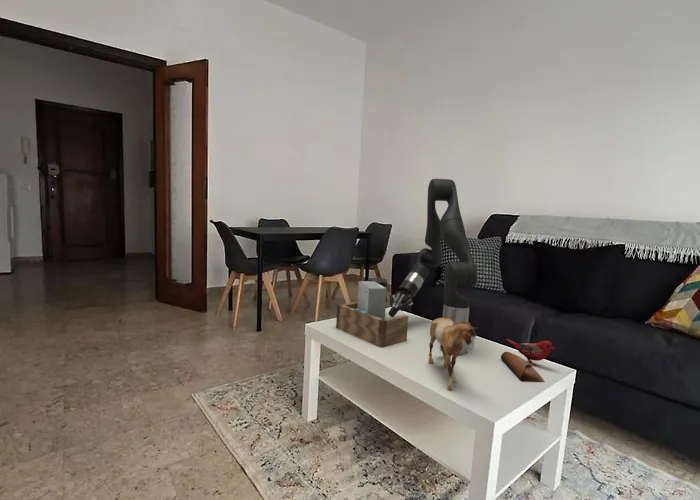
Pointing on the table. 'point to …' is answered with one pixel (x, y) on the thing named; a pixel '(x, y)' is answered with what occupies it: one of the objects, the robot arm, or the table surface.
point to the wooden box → (371, 325)
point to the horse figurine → (451, 341)
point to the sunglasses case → (521, 368)
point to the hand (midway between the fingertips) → (390, 315)
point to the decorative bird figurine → (534, 350)
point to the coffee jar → (379, 281)
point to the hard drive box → (372, 298)
